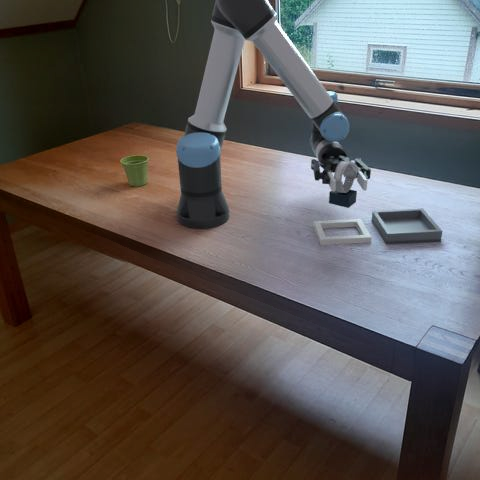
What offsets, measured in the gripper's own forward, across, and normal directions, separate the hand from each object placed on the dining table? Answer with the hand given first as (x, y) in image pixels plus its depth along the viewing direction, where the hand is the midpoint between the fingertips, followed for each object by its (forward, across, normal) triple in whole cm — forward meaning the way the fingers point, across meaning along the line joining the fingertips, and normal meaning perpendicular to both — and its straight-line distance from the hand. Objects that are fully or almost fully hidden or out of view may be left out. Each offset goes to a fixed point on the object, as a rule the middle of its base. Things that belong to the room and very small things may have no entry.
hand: (349, 185), depth 126 cm
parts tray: (-5, -17, -15) cm, 24 cm away
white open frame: (-5, 0, -16) cm, 16 cm away
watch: (-5, 0, -7) cm, 8 cm away
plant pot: (-50, +60, -17) cm, 80 cm away
